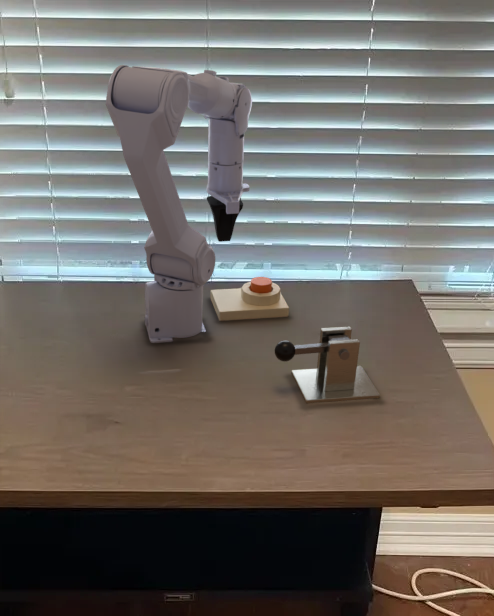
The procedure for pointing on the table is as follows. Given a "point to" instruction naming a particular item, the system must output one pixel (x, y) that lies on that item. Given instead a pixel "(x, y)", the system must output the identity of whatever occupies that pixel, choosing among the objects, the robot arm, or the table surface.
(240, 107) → the robot arm
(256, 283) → the button
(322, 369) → the bracket
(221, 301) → the control block
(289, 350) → the lever
